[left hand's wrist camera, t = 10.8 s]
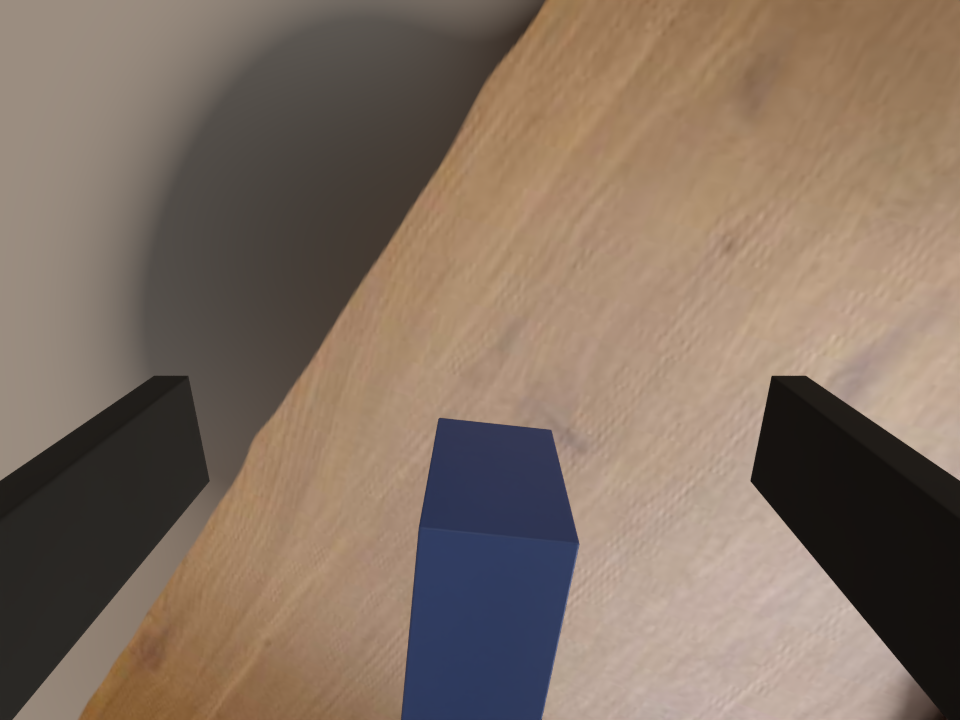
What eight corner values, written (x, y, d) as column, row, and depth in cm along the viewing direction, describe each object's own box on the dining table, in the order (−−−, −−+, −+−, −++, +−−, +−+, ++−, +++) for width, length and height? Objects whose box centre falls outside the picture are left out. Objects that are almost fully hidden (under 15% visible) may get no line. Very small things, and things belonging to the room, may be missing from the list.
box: (438, 417, 30) (418, 527, 21) (551, 429, 30) (580, 544, 21) (407, 732, 38) (383, 908, 29) (496, 740, 38) (499, 918, 29)
